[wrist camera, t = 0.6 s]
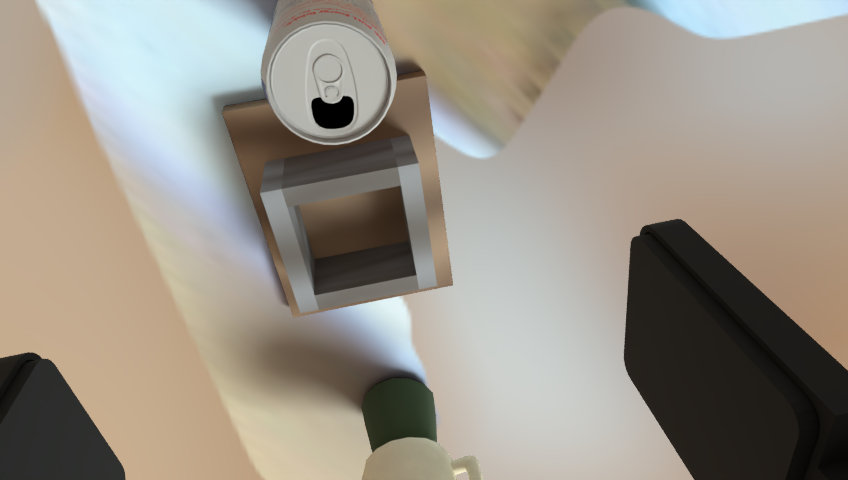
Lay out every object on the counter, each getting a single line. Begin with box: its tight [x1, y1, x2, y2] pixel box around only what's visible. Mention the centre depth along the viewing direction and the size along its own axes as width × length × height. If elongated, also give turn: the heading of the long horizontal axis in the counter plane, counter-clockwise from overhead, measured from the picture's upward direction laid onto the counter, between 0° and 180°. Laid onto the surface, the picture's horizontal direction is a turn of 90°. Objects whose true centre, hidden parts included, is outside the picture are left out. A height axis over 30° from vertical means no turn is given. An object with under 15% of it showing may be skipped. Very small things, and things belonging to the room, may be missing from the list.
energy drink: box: [261, 0, 397, 145], centre depth 27 cm, size 5×5×12 cm
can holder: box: [222, 71, 453, 317], centre depth 37 cm, size 16×12×5 cm
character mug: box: [362, 378, 483, 480], centre depth 45 cm, size 11×7×13 cm, turn 110°
